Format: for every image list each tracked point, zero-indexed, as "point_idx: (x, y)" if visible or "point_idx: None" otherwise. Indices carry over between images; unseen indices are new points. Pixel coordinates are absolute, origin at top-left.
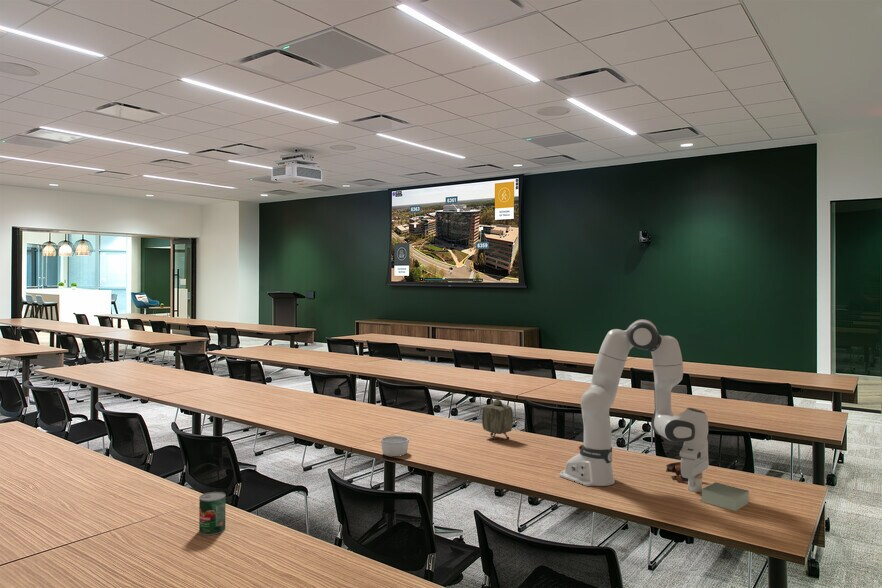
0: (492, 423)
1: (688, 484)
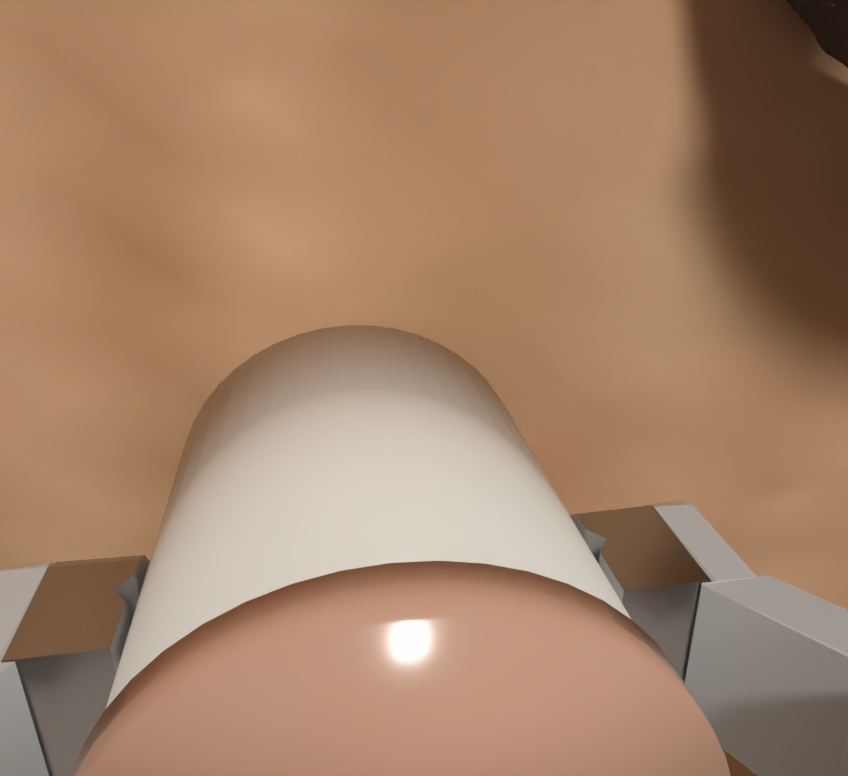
0: None
1: (224, 432)
